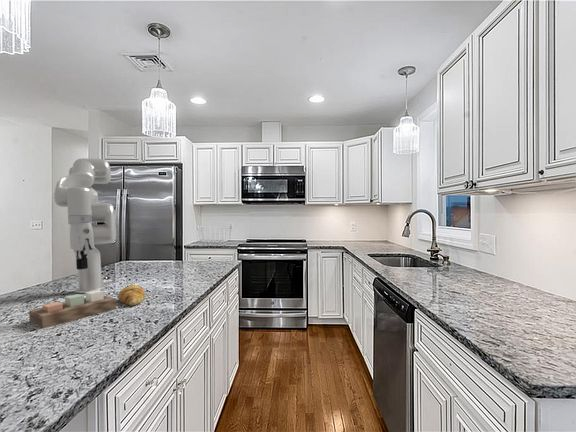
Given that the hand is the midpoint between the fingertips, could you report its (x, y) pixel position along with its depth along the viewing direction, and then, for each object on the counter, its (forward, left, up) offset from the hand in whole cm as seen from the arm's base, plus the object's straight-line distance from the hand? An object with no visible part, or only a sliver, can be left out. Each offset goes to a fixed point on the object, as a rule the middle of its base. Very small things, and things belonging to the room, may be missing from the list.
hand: (82, 268), depth 123 cm
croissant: (-18, +1, -17) cm, 25 cm away
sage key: (+3, 0, -14) cm, 14 cm away
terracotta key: (+10, 0, -15) cm, 18 cm away
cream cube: (-4, 0, -14) cm, 14 cm away
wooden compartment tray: (+3, 0, -17) cm, 17 cm away
